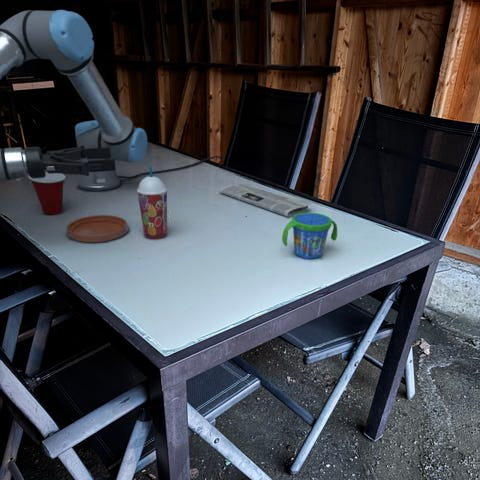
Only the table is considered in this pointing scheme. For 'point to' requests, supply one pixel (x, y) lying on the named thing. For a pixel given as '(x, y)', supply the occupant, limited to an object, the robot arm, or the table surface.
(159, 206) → the smoothie
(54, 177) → the plastic cup
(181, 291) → the table surface
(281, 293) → the table surface
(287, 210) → the newspaper
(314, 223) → the snack cup
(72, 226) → the plate
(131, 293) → the table surface
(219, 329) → the table surface
